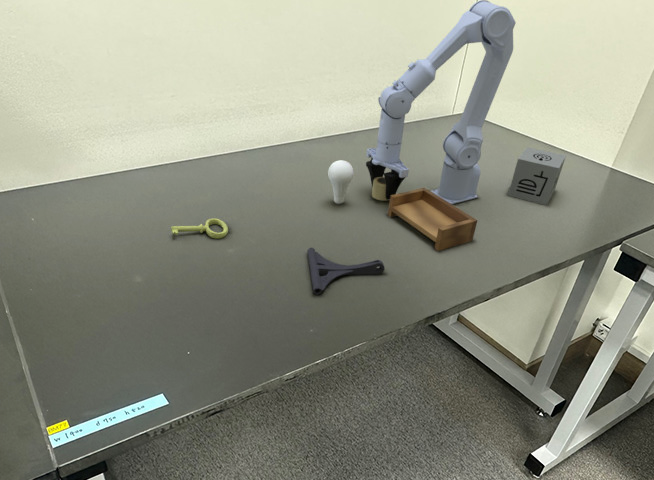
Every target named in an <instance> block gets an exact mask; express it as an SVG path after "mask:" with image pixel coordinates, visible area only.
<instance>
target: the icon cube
mask: <svg viewBox="0 0 654 480" xmlns="http://www.w3.org/2000/svg"><path fill="white" fill-rule="evenodd" d="M566 158H567V155H566V154H561V153H556V152H551V151H547V150H542V149H538V148H533V147H528V146H527V147H526V148H525V149H524V150H523V152H522V153H521V154H520V156H518V158H517V161H516V164H515V168H514V172H513V175H512V179H511V183H510V186H509V190H508V193H507V196H509V197H513V198H517V199H521V200H525V201H529V202H532V203H536V204H540V205H544V206H548V204H549V202H550V200H551V198H552V196H553V194H554V193H555V191H556V187H557V185H558V181H559V178H560V175H561V173H562V169H563V166H564V163H565V161H566Z"/></svg>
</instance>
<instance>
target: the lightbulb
mask: <svg viewBox="0 0 654 480" xmlns="http://www.w3.org/2000/svg"><path fill="white" fill-rule="evenodd" d="M327 174H328V177H327V178H328V179H329V182H330V184H331V187H332V193H333V202H334V203H335V204H337V205H340V204H343V203H344V202H345V197H346V196H345V195H346V194H347V189H348V187H349V185H350V184H351V182H352V180H353V179H354V174H355V171H354V168H353V166H352V164H351V163H350V162H348V161H346V160H345V159H344V160H343V159H342V160H341V159H338V160H336V161H333V162H332V163H331V165H330V166H329V167H328V170H327Z"/></svg>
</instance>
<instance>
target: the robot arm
mask: <svg viewBox="0 0 654 480" xmlns="http://www.w3.org/2000/svg"><path fill="white" fill-rule="evenodd" d="M515 26H516V20H515V18H514V16H513V14H512V12H511V11H510V10H509V9H508V8H507V7H505V6H501V5H497V4H495V3H492V2H491V1H489V0H478V1H476V2H474V3H473V4H472V5H471V6H470V8H469V9H468V10H466V11H465V12H464V13H463V14H462V15H461V16H460V18H459V20H458V22H456V24H455V25H454V26H453V28H452V29H451V30H449V32H448V33H447V35H445V36H444V38H442V40H441V41H440V42H439V43H438V44H437V45H436V46H435V48H434V49H433V50H432V51H431V52H430V53H429V55H428V56H427V57H426V58H423V59H416V61H415V62H413V61H411V62H410V63H409V64H408V65H407V68H408V69H407V70H406V71H405V72H404V73H403V74H402V75H401V76H400V77H399V78H398V79H397V80H395V79H394V81H393V82H392V85H390V86H387V87H385V88H384V89H383V90H382V91H381V93H380V96H378V98H377V99H378V101H377V102H378V104H379V106H380V108H381V109H380V116H379V117H380V118H379V123H378V124H379V125H378V133H377V142H376V148H374V147H371V148H367V149H366V157H367V158H370V159H369V160H368V161H366V162H365V166H366V168H367V170H368V173H369V177H370V182H371V189H373V180H374V179H375V178H377V177H385V181H386V199H387V201H390V200H389V199H390V196H391V195H395V194H397V192H398V190H399V188H400V186H401V184H402V183H403V181H404V180H405V179H406V178H408V177H409V173H410V168H408V167H407V166H406V165H405V164H404V162H403V161H402V160H401V158H400V156H401V150H402V149H401V148H402V143H403V135H404V128H405V120H406V115H407V114H409V112H410V111H411V109H412V104H413V103H414V101H415V100H416V99H417V98H418V97H419V96H420V95H421V94H422V93H423V92H424V91H425V90H426V89H427V88H428V87H429V86H430V85H431V84H432V83H433V82H434V81H435V79H436V73H437V70H439V69H440V68H441V67H443V65H444V64H445V63H446V62H447V61H449V60H450V59H451V58H452V57H454V55H455V54H457V52H459V50H461V49H463V47H464V46H466V45H467V44H475V43H476V44H477V43H481V44H482V46H483V48H484V51H485V54H484V56H483V58H482V61H481V65H480V67H479V70H478V72H477V75H476V77H475V79H474V83H473V85H472V88H471V91H470V93H469V96H468V98H467V101H466V104H465V105H464V109H463V112H462V113H461V116H460V120H459V121H458V122H455V123H454V124H453V125H452V127H451V130H450V132H449V133H448V134H447V135H446V136H445V137H444V139H443V142H442V149H443V151H444V153H445V156H444V159H443V163H442V168H441V174H440V180H439V185H438V188H437V189H433V190H430V191H431V192H432V193H434V194H435V195H437V196H439V197H440V198H442V199H444V200H445V201H447V202H449V203H450V204H452V205H455V204H459V203H462V202H466V201H471V200H474V199H477V198H478V195H477V190H478V185H479V182H480V178H481V166H480V165H479V163H478V162H479V161H480V159H481V157H482V145H483V142H484V136H483V131H482V130H483V126H484V123H485V121H486V118H487V115H488V113H489V111H490V108H491V106H492V104H493V102H494V98H495V97H496V95H497V92H498V89H499V87H500V84H501V82H502V79H503V77H504V74H505V73H506V69H507V67H508V65H509V62H510V59H511V57H512V54H513V52H514V28H515ZM386 169H389V170H390V171H387V172H385V171H386Z"/></svg>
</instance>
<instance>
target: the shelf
mask: <svg viewBox="0 0 654 480" xmlns="http://www.w3.org/2000/svg"><path fill="white" fill-rule="evenodd" d="M431 191H432V190H429V189H427V188H426V187H421V188H417V189H412V190H407V191H403V192H400V193H396V194H395V195H391V196H390V200H389V205H388V211H387V216H388V217H390V218H393V217H397V216H398V217H399V218H401V219H402V220H403V221H405V222H406V223H408V224H409V225H411V226H412V227H413V228H414V229H416V230H418V231H419V232H420V233H422V234H423V235H425V236H426V237H427V238H429V239H430V240H432V241H433V242H434V243H435V244H434V250H436V252H440V251H443V250H446V249H450V248H453V247H457V246H460V245H463V244H467V243H470V242H473V241H474V237H475V233H476V229H477V224H478V219H477V218H475V217H474V216H471V215H470V214H468V213H466V212H465V211H463V210H462V209H460V208H458V207H457V206H455V205H454V204H450V203H449V202H447V201H445V200H444V199H442V198H440V197H439V196H437V195H435V194H434V193H432V192H431Z"/></svg>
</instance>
